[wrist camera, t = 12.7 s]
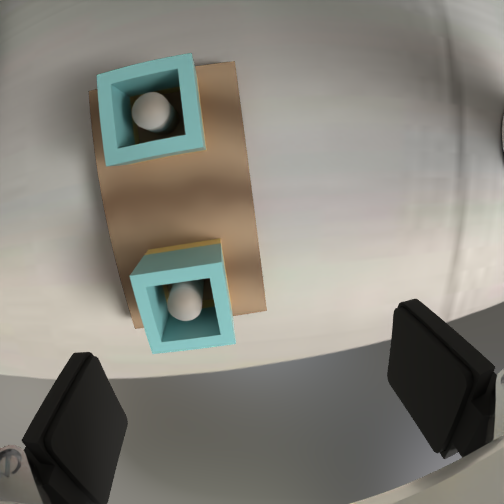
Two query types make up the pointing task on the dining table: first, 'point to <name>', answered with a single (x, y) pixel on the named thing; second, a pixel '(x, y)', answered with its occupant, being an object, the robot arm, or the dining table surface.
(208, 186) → the pin board
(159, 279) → the sleeve
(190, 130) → the seated sleeve
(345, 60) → the dining table surface
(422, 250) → the dining table surface
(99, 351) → the dining table surface
